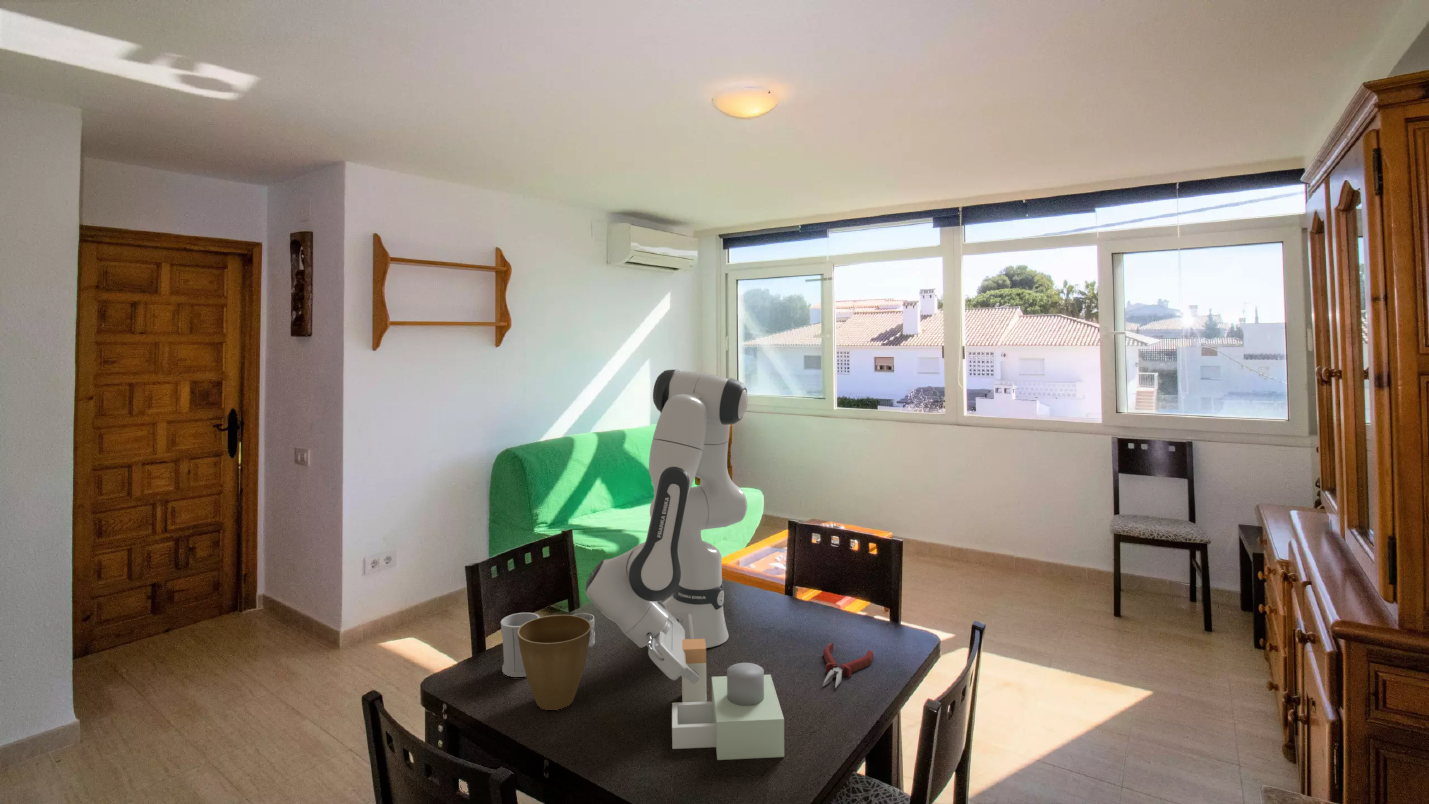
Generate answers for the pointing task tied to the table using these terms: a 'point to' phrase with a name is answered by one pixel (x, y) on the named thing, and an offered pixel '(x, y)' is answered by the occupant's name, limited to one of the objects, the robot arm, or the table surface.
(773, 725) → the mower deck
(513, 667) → the cup
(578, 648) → the plant pot
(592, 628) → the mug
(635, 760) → the table surface
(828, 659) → the pliers
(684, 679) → the two-tone orange block
